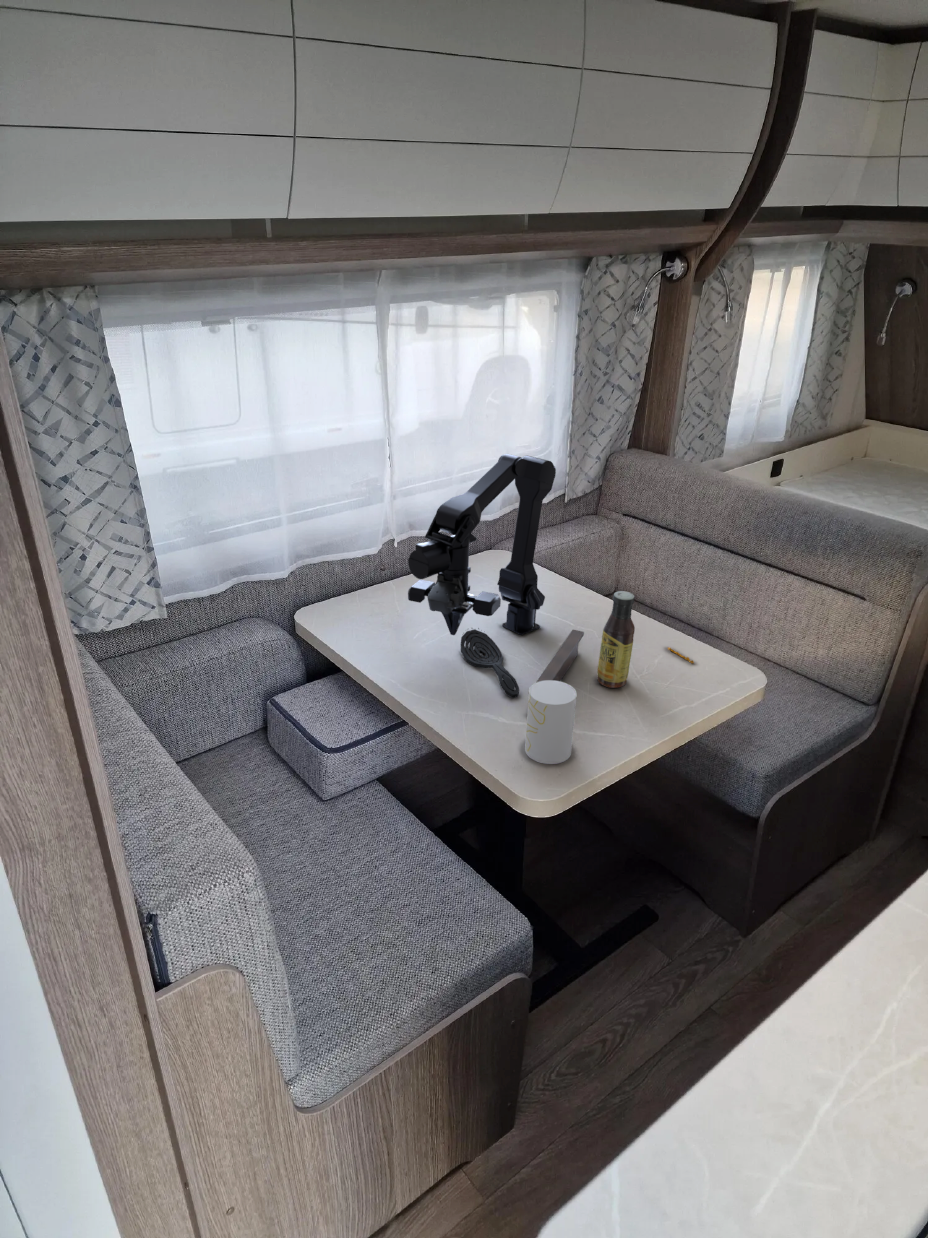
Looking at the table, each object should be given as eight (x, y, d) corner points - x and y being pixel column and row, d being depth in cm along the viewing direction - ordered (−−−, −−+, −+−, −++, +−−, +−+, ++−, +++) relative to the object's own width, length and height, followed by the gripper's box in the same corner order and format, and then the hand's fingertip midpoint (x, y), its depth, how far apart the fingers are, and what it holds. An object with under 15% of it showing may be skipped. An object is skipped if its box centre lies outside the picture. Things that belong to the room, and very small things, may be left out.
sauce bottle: (590, 677, 169) (599, 589, 160) (616, 672, 171) (627, 585, 162) (607, 692, 163) (617, 602, 155) (633, 687, 166) (645, 598, 157)
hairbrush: (496, 689, 158) (454, 628, 179) (495, 704, 160) (453, 643, 181) (535, 682, 161) (489, 624, 181) (533, 698, 163) (488, 638, 183)
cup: (521, 738, 148) (525, 680, 143) (566, 737, 149) (571, 679, 144) (528, 764, 141) (533, 705, 136) (575, 763, 142) (581, 704, 136)
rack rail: (570, 653, 179) (572, 629, 176) (582, 655, 178) (584, 631, 175) (529, 715, 155) (530, 689, 153) (542, 718, 154) (544, 692, 152)
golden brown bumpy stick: (694, 664, 176) (695, 660, 175) (691, 665, 175) (691, 661, 175) (668, 649, 182) (669, 645, 181) (665, 650, 181) (666, 646, 181)
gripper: (395, 571, 162) (396, 641, 168) (482, 587, 155) (480, 659, 162) (419, 553, 171) (419, 620, 178) (503, 567, 165) (499, 636, 171)
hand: (453, 634), depth 172 cm, fingers closed
